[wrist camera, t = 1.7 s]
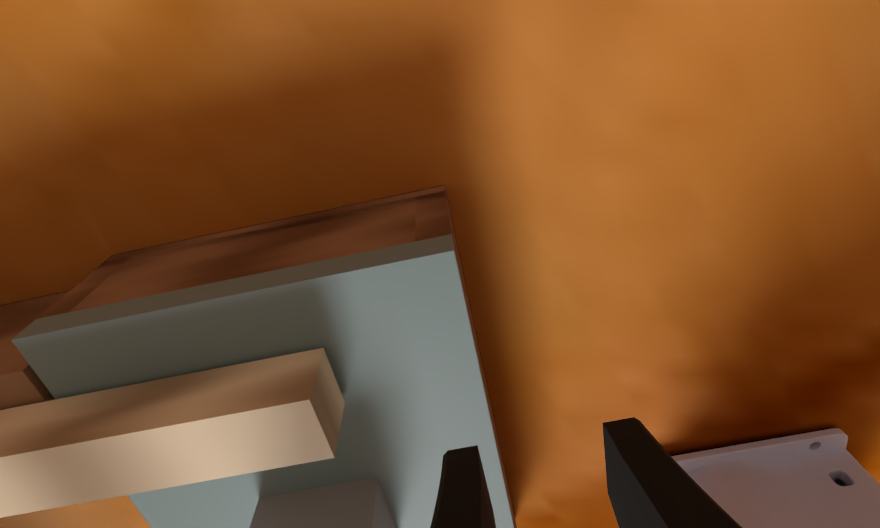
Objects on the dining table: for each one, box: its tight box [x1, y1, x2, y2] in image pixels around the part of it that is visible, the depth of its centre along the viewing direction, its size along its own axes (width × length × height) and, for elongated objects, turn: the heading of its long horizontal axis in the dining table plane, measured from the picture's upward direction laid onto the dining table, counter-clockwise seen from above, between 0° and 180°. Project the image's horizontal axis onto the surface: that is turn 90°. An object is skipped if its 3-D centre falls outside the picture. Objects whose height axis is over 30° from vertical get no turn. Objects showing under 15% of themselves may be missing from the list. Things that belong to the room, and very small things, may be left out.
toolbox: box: [0, 186, 517, 528], centre depth 20 cm, size 21×18×5 cm
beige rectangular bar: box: [0, 348, 345, 518], centre depth 14 cm, size 12×2×2 cm, turn 102°
